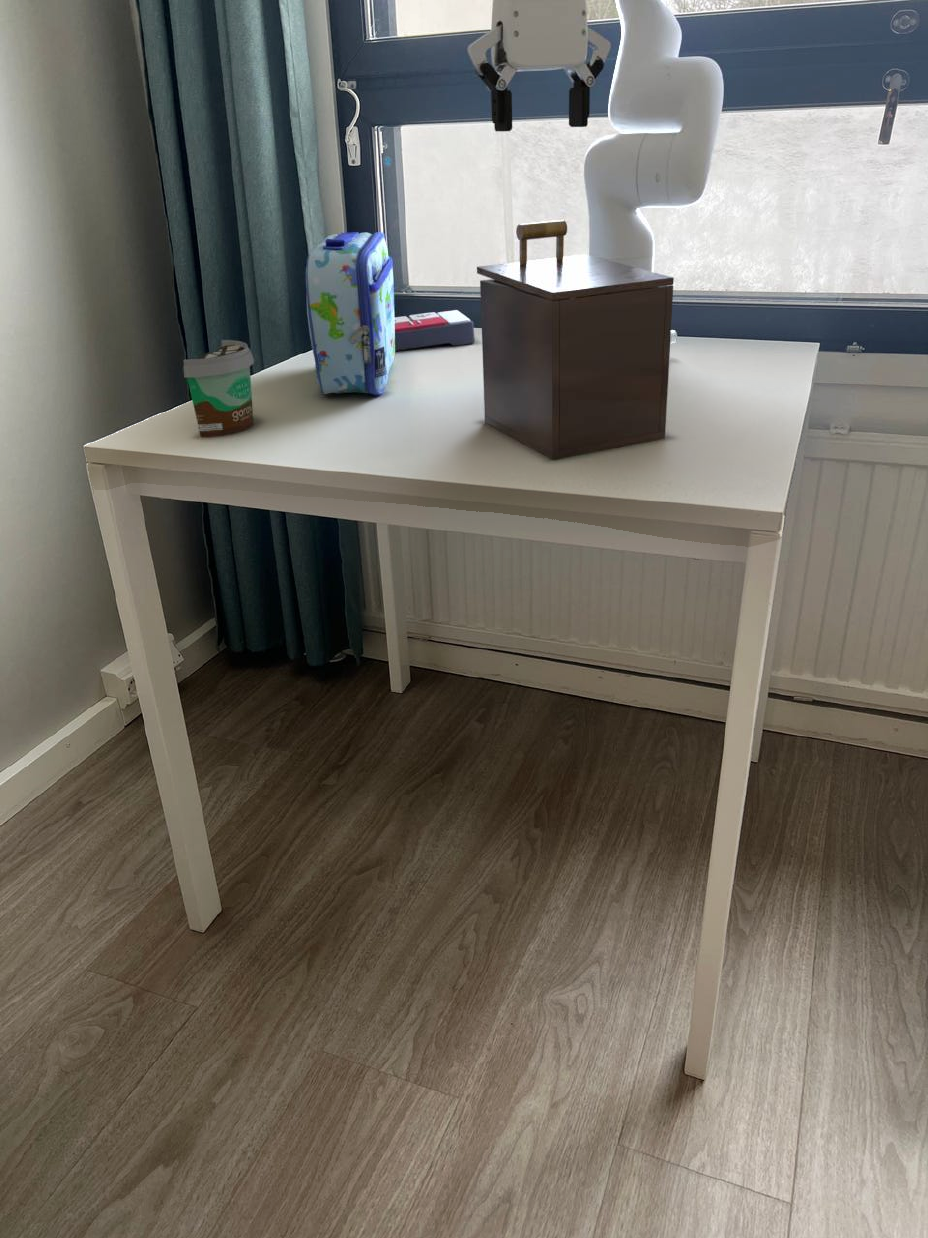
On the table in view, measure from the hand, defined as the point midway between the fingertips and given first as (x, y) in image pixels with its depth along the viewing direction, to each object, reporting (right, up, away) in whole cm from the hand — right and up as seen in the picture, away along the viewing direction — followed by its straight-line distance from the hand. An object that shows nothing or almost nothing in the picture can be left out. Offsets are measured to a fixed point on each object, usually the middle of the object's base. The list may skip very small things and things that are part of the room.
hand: (541, 128), depth 111 cm
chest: (+5, -32, +9) cm, 34 cm away
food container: (-39, -31, +17) cm, 52 cm away
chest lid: (+4, -17, +2) cm, 17 cm away
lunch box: (-24, -20, +36) cm, 48 cm away
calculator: (-15, -7, +59) cm, 62 cm away
